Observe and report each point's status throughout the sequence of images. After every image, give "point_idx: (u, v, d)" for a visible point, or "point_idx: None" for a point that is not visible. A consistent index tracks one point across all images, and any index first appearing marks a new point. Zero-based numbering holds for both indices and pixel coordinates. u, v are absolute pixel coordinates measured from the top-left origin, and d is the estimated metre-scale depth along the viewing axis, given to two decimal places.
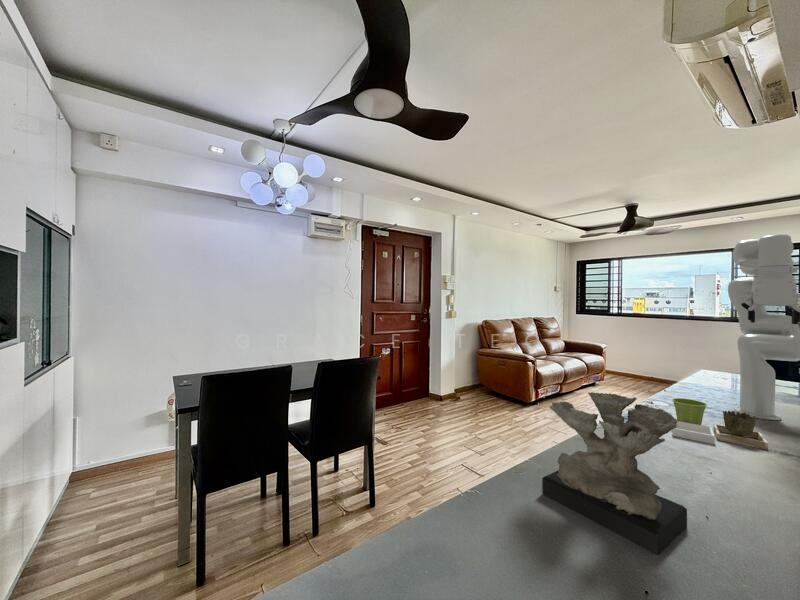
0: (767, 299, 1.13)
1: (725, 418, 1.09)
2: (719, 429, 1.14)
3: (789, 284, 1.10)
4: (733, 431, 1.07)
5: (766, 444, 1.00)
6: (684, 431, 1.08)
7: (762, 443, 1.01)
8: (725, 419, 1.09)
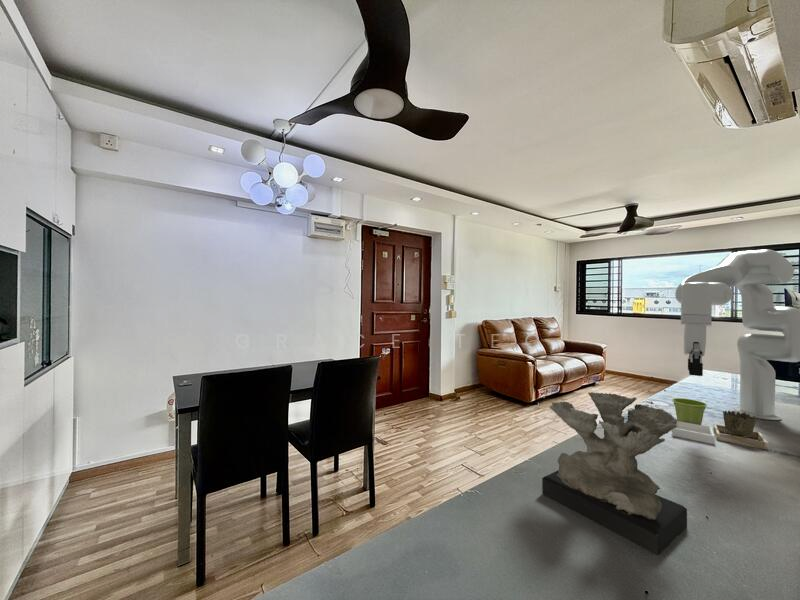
0: None
1: (725, 418, 1.09)
2: (719, 429, 1.14)
3: None
4: (733, 431, 1.07)
5: (766, 444, 1.00)
6: (684, 431, 1.08)
7: (762, 443, 1.01)
8: (725, 419, 1.09)
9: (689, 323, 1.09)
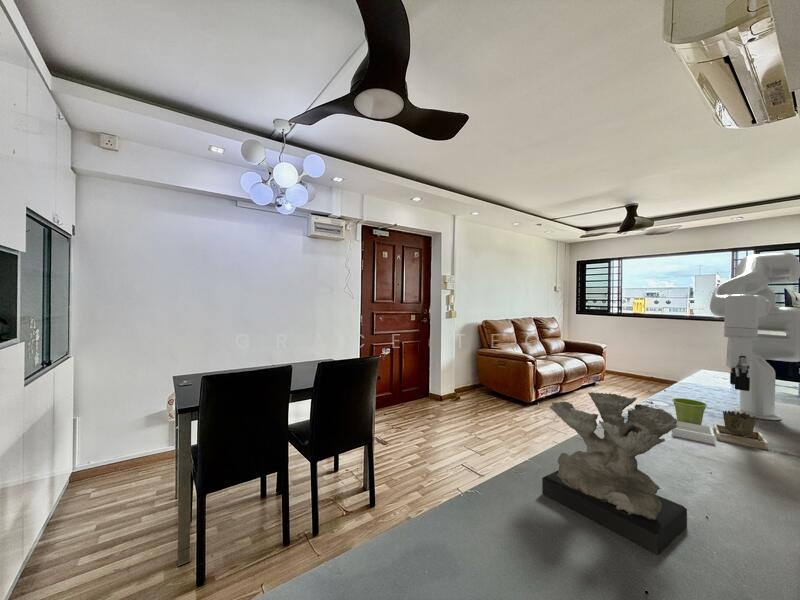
0: None
1: (725, 418, 1.09)
2: (719, 429, 1.14)
3: None
4: (733, 431, 1.07)
5: (766, 444, 1.00)
6: (684, 431, 1.08)
7: (762, 443, 1.01)
8: (725, 419, 1.09)
9: (734, 336, 1.06)
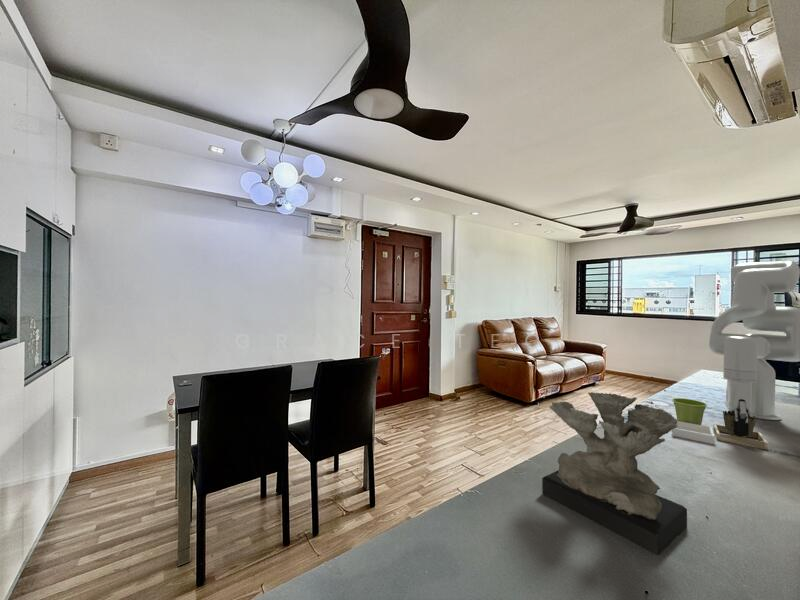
0: None
1: (725, 418, 1.09)
2: (719, 429, 1.14)
3: None
4: (733, 431, 1.07)
5: (766, 444, 1.00)
6: (684, 431, 1.08)
7: (762, 443, 1.01)
8: (725, 419, 1.09)
9: (734, 379, 1.06)
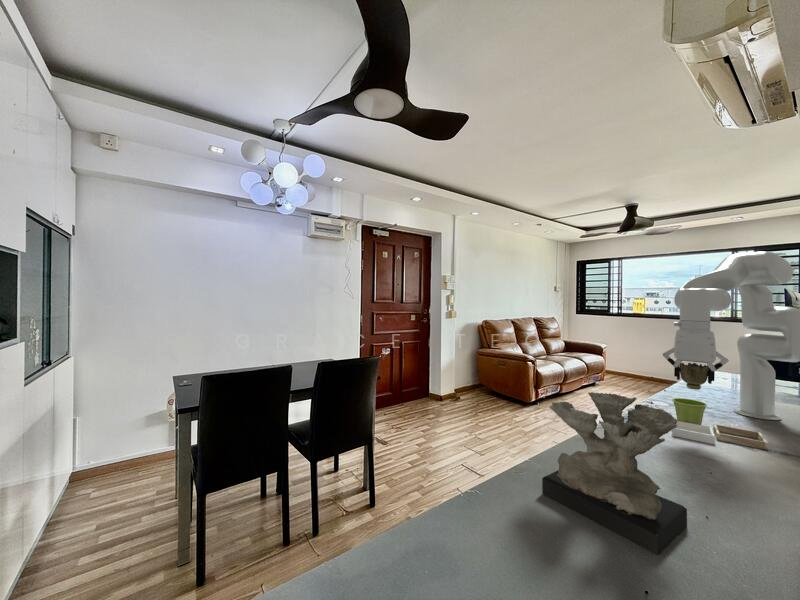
0: None
1: (700, 371, 1.07)
2: (719, 429, 1.14)
3: None
4: (704, 382, 1.08)
5: (766, 444, 1.00)
6: (684, 431, 1.08)
7: (762, 443, 1.01)
8: (699, 372, 1.07)
9: (708, 330, 1.07)
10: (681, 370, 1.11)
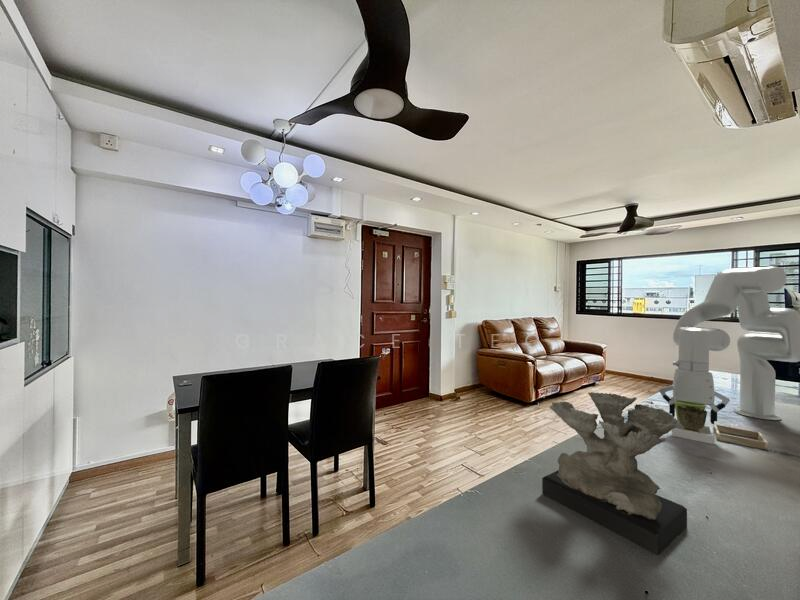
0: None
1: (697, 417, 1.07)
2: (719, 429, 1.14)
3: None
4: (702, 427, 1.08)
5: (766, 444, 1.00)
6: (684, 431, 1.08)
7: (762, 443, 1.01)
8: (697, 418, 1.07)
9: (707, 372, 1.07)
10: (679, 414, 1.11)
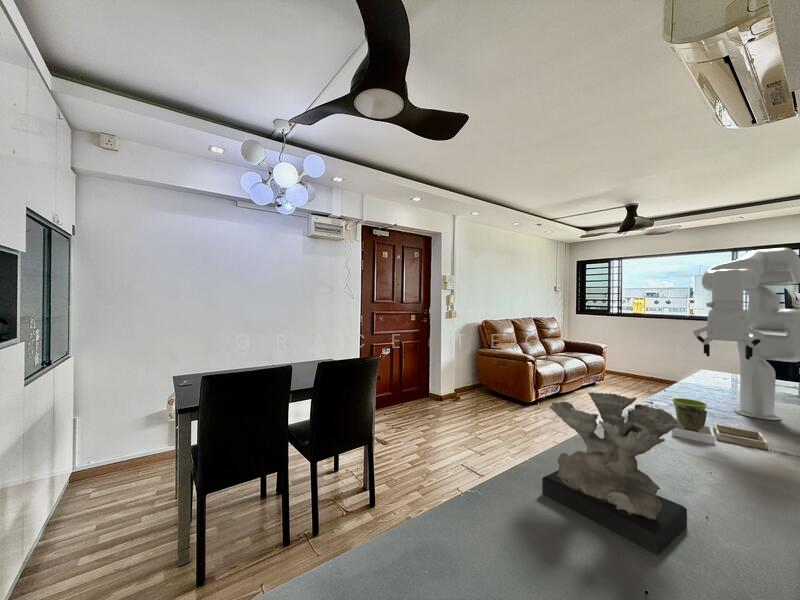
0: None
1: (697, 417, 1.07)
2: (719, 429, 1.14)
3: None
4: (702, 427, 1.08)
5: (766, 444, 1.00)
6: (684, 431, 1.08)
7: (762, 443, 1.01)
8: (697, 418, 1.07)
9: (742, 309, 1.10)
10: (679, 414, 1.11)
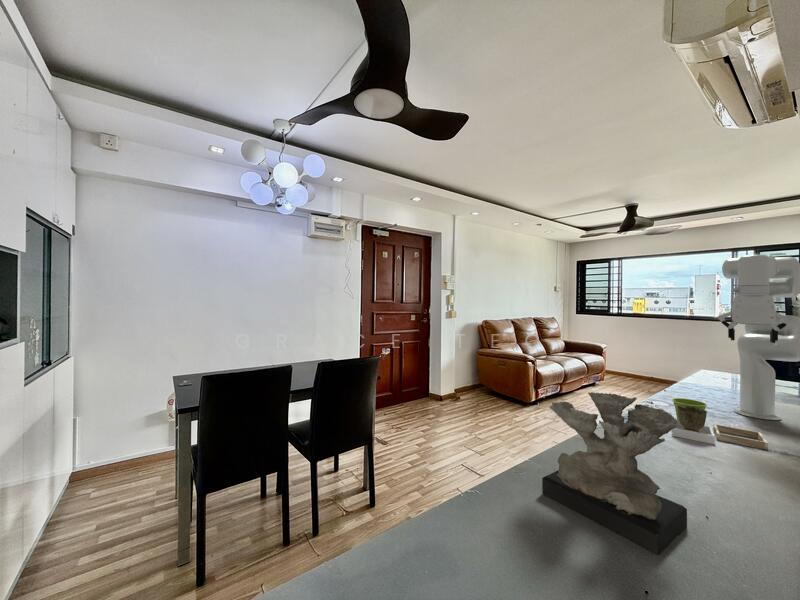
0: None
1: (697, 417, 1.07)
2: (719, 429, 1.14)
3: None
4: (701, 427, 1.08)
5: (766, 444, 1.00)
6: (684, 431, 1.08)
7: (762, 443, 1.01)
8: (697, 418, 1.07)
9: (768, 294, 1.13)
10: (679, 414, 1.11)
